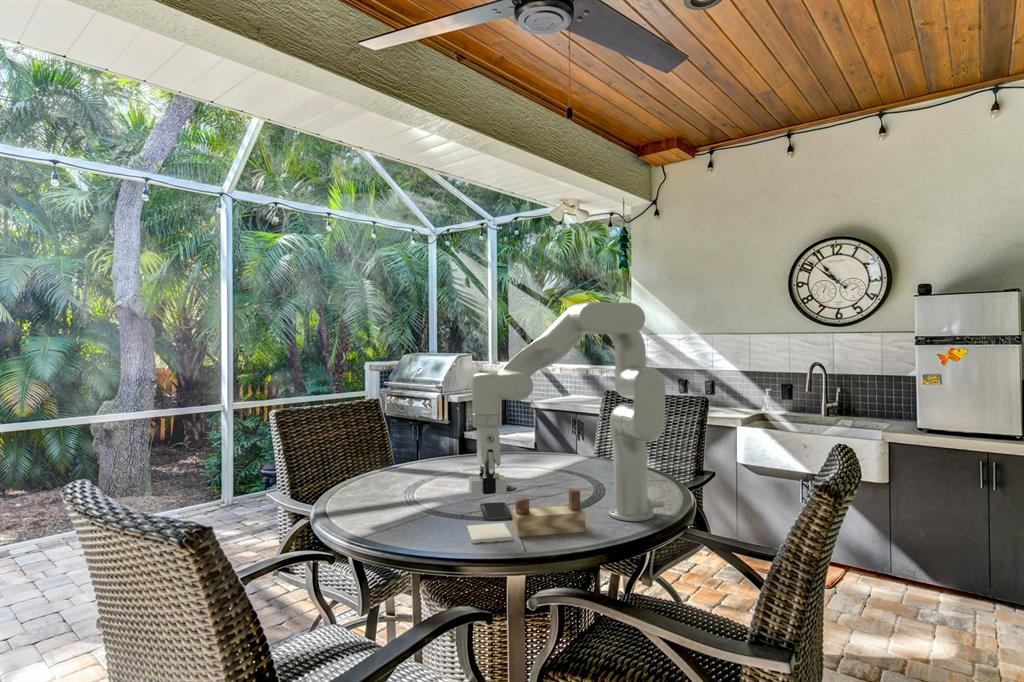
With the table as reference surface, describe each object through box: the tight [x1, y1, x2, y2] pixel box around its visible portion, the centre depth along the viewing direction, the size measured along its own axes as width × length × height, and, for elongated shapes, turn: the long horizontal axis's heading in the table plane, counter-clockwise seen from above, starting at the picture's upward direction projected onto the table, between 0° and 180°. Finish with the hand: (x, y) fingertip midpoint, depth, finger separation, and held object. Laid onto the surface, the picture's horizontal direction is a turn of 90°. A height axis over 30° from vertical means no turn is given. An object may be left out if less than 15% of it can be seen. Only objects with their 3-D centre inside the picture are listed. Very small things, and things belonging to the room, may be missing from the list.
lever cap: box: [468, 472, 508, 496], centre depth 149 cm, size 9×6×4 cm, turn 101°
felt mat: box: [466, 522, 513, 544], centre depth 149 cm, size 10×11×1 cm
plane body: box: [511, 488, 587, 538], centre depth 152 cm, size 18×7×10 cm, turn 101°
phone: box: [479, 501, 513, 521], centre depth 169 cm, size 8×1×15 cm
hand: (487, 489), depth 149 cm, fingers closed on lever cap, 5 cm apart
